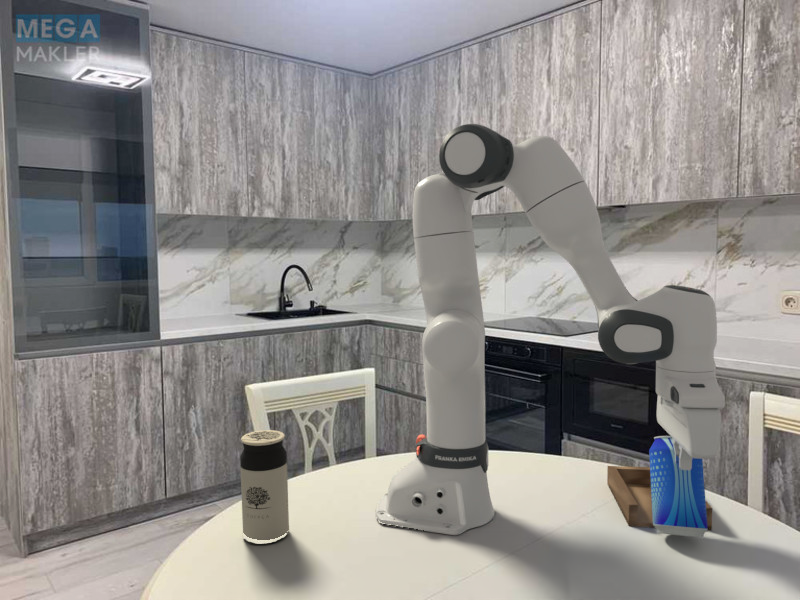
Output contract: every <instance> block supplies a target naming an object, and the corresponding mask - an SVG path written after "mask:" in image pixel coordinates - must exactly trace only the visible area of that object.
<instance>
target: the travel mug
mask: <svg viewBox="0 0 800 600" xmlns="http://www.w3.org/2000/svg"><path fill="white" fill-rule="evenodd" d="M285 438H286V436H285V433H283V432H282V431H279V430H274V429H273V430H272V429H267V430H263V429H262V430H255V431H252V432H248V433H245V434H244V435H242V436H241V438H240V442H242V445H243V446H242V447H243V450H242V451H241V454H240V456H239V460H240V462H239V463H240V489H241V492H240V493H241V511H242V512H241V513H242V514H241V515H242V518H241V519H242V534H243V533H244V534H245V535H246V536H247V537H249V538H252V539H257V540H270V539H275V538H278V537H280V536H282V535H284V534H285V533H287V531H288V530H289V531H290V521H289V520H290V518H289V516H290V515H289V513H290V512H289V490H288V488H289V487H288V486H289V485H288V482H289V479H288V458H287V455H288V453H287V451H286V448H285V447H284V446H283V443H284V439H285Z"/></svg>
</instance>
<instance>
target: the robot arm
mask: <svg viewBox="0 0 800 600" xmlns="http://www.w3.org/2000/svg"><path fill="white" fill-rule="evenodd" d="M438 161H439V166H440V169H441V170H442V172H439V173H436V174H432V175H429V176H427V177H424V178H423V179H422V180H420V181H419V182H418V183H417V184H416V185H415V188H414V191H413V198H412V231H413V232H412V233H413V238H414V239H413V241H414V242H413V243H414V251H415V259H416V267H417V276H418V283H419V287H420V291H421V295H422V296H421V297H422V300H423V306H424V310H425V317H426V324H427V326H426V327H425V329H424V332H423V333H422V334H423V335H422V338H421V339H422V340H421V347H422V348H421V349H422V365H423V378H424V389H425V400H426V402H425V404H426V409H425V410H426V435H425V434H419V435H418V436H417V437H416V439H415V440H416V441H415V443H416V446H415V451H416V452H415V453H416V455H415V458H413V459H412V460H411V461H410V462H408V463H407V464H406V465H405V466H403V467H400V469H399V470H397V471H396V472H395V474H393V477H392V478H391V480H390V482H389V485H388V490H387V493H385V494H384V495H382V496H381V498H380V499H379V500H378V503H377V504H376V508H375V518H376V517H377V519H378V520H379V521H380V522H382V523H385V524H391V525H398V526H403V527H409V528H414V529H413V530H416V529H418V531H423V530H424V531H425V532H430V533H438V534H445V535H451V536H459V535H461V534H463V533H464V532H466V531H467V530H470V529H474V528H477V527H481V526H483V525H485V524H486V525H487V523H489V522H490V521H492V519H494V516H495V509H494V506H493V503H492V499H491V496H490V495H491V493H490V488H489V482H488V481H489V480H488V476H487V475H488V474H487V473H488V472H487V471H488V468H489V446H488V440H487V439H486V382H485V381H486V377H485V376H486V375H485V374H486V373H485V371H486V370H485V369H486V368H485V361H486V360H485V357H486V356H485V355H486V354H485V353H486V352H485V348H486V347H485V346H486V345H485V344H486V330H485V329H486V327H485V321H484V320H485V319H484V312H483V303H482V302H483V301H482V297H481V288H480V279H479V270H478V262H477V253H476V243H475V234H474V226H473V225H474V224H473V218H472V216H473V215H472V214H473V213H472V208H473V203H474V201H479V200H481V199H483V198H486V197H487V196H489V195H491V194H494V193H497V192H499V191H500V190H501V189H503V188H505V187H506V188H508V189H509V190H510V191H511V192H512V193H513V194H514V195H515V197H516V198H517V200H518V201H519V204H520V205H521V208H522V209H523V211H524V213H525V215H526V217H527V219H528V220H529V222H530V224H531V225H532V227H533V228H534V230H535V231H536V233H537V234H538V236H539V237H540V238H541V239H542V240H543V242H544V243H545V244H546V245H547V246H548V247H549V248H550V249H551V250H553V251H554V252H555V253H557V254H558V255H559V256H561V257H562V258H563V259H564V260H566V262H567V263H568V264H569V265H570V266H571V267H572V268H573V270H574V271H575V272H576V274H577V276H578V278H579V280H580V281H581V283H582V285H583V287H584V289H585V290H586V292H587V294H588V295H589V298H590V300H591V301H592V304H593V305H594V307H595V311H596V315H597V340H598V344H599V346H600V349H601V350H602V352H603V353H604V354H605V356H607V357H608V358H609V359H611V360H612V361H615V362H617V363H619V364H625V365H635V364H641V363H643V364H644V363H650V362H655V393H656V395H657V401H656V421H657V423H658V424H659V425H660V426H661V427H662V429H663V430H664V431H666V433H667V434H668V436H671V437H672V442H673V447H674V452H675V463H676V464H677V465H678V466H679V467H680V469H682V470H691V468H692V459H693V458H696V459H702V460H714V459H715V458H716V457H717V456H718V454H719V450H720V445H721V444H720V442H721V431H722V430H721V429H722V413H721V410H720V409H725V405H726V397H725V394H724V393H723V391H722V389H721V388H720V386H719V384H718V379H717V377H716V375H717V365H716V362H715V355H714V354H715V353H714V352H715V348H716V346H717V340H718V323H717V321H718V320H717V319H718V318H717V309H716V304H715V301H714V298H713V297H712V296H711V295H710V294H708V293H707V292H706V291H704V290H702V289H698V288H695V287H691V286H683V285H676V284H669V285H664V286H663V287H661V288H660V289H659V290H658V291H656V292H653V293H652V294H650V295H648V296H646V297H643V298H641V299H639V300H638V299H636V298H635V297H634V296H633V295H632V294H631V293H630V292H629V290H628V289H627V287H626V285H625V284H624V282H623V281H622V278H621V277H620V275H619V273H618V271H617V269H616V267H615V266H614V264H613V262H612V260H611V258H610V256H609V255H608V252H607V249H606V246H605V242H604V237H603V231H602V223H601V219H600V215H599V211H598V208H597V206H596V202H595V200H594V197H593V195H592V193H591V191H590V189H589V186H588V185H587V183H586V181H585V179H584V178H583V176H582V174H581V172H580V171H579V169H578V168H577V166H576V165H575V163H574V162H573V160H572V158H571V157H570V155H568V153H567V152H566V151H565V149H563V147H562V146H561V145H560V144H559V143H558V142H557V140H555V139H554V138H553V137H551V136H546V135H537V136H533V137H530V138H527V139H526V140H523V141H522V142H519V143H516V144H513V143H512V141H511V140H510V139H508V138H506V137H504V136H503V135H502V134H500V133H499V132H497V131H496V130H494V129H491V128H490V127H487V126H485V125H482V124H477V123H466V124H462V125H460V126H459V125H458V126H456V127H455V128H453V129H452V130H451V131H449V132H448V133H447V134H446V136H445V137H444V139H443V140H442V142H441V145H440V147H439V154H438ZM377 519H376V520H377ZM403 527H402V528H403ZM409 528H408V529H409Z"/></svg>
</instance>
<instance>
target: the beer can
mask: <svg viewBox="0 0 800 600" xmlns="http://www.w3.org/2000/svg"><path fill="white" fill-rule="evenodd" d="M653 439H654V441H653V443H652V445H651V446H650V448H649V450H648V454H649V467H650V477H651V497H652V516H653V525H654V526H655V527H654V528H655V529H656V531H657V533H658V534H662V535H663V534H664V535H674V536H683V537H692V538H703V537H704V535H705V534H706V532H707V531H709V530H708V526H707V513H706V502H707V501H706V491H705V490H706V489H705V487H706V486H705V478H704V477H705V476H704V464H703V462H704V461H703V459H696V458H693V459H692V468H691V470H682V469H680V467H679V466H678V465H677V464H676V463H675V452H674V447H673V442H672V437H671V436H670V435H658V436H654V437H653Z"/></svg>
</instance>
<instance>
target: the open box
mask: <svg viewBox="0 0 800 600" xmlns="http://www.w3.org/2000/svg"><path fill="white" fill-rule="evenodd" d="M606 473H607V479H606V480H607V486H608V488H609V491H610V492H611V494H612V497H614V500H615V503H616V505H617V506H618V507H619V510H620V512H621V513H622V515H623V517H624V519H625V521H626V523H627V525H628V527H636V528H637V527H640V528H641V527H642V528H655V526H654V525H653V516H652V497H651V477H650V466H648V467H647V466H625V465H624V466H623V465H621V466H619V465H616V466H615V465H607V472H606ZM706 513H707V526H708V530H707V531H713V507H712V506H711V505H710V503H708V501H706Z"/></svg>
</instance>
